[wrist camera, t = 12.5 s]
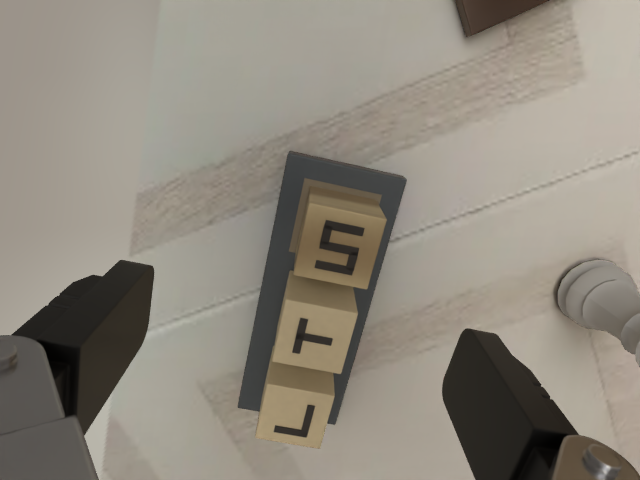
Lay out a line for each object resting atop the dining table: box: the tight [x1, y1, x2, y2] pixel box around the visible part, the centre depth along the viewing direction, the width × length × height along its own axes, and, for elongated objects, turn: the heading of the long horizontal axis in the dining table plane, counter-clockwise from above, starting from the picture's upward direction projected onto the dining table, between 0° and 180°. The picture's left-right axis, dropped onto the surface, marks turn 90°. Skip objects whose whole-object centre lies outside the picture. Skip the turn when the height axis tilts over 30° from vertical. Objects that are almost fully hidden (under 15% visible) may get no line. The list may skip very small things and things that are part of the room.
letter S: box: [293, 186, 387, 289], centre depth 25 cm, size 4×4×4 cm
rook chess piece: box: [558, 260, 640, 367], centre depth 25 cm, size 4×4×8 cm
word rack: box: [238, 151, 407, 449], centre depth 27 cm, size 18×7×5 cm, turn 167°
